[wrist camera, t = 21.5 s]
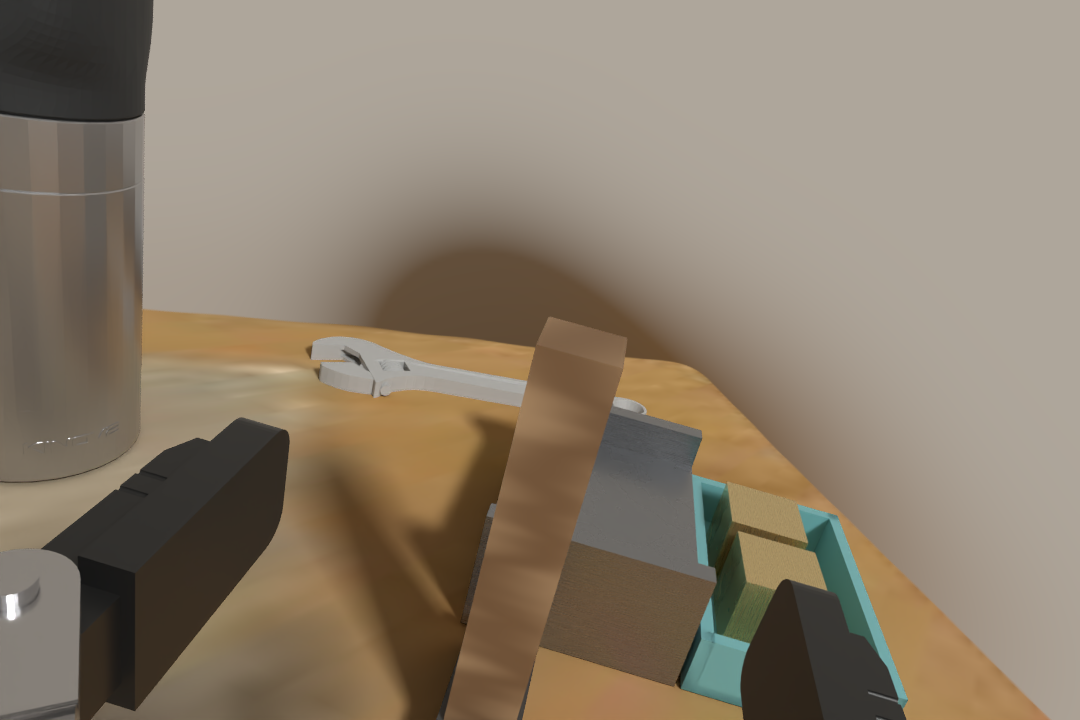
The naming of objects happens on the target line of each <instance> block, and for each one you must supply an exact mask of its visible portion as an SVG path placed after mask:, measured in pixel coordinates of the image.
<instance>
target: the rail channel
mask: <svg viewBox="0 0 1080 720" xmlns="http://www.w3.org/2000/svg"><path fill="white" fill-rule="evenodd" d="M701 440H702V432H701V430H698V429H694V428H691V427H687V426H683V425H680V424H676V423H673V422H669V421H666V420H662V419H658V418H655V417H651V416H648V415H644V414H641V413H637V412H633V411H630V410H626V409H623V408H619V407H616V406H612V407H611V410H610V414H609V417H608V420H607V424H606V427H605V430H604V434H603V437H602V440H601V443H600V447H599V450H598V453H597V457H596V460H595V463H594V467H593V470H592V473H591V476H590V480H589V483H588V486H587V490H586V493H585V496H584V500H583V503H582V506H581V509H580V513H579V516H578V519H577V523H576V526H575V529H574V533H573V536H572V539H571V542H570V546H569V549H568V552H567V556H566V559H565V562H564V566H563V569H562V572H561V575H560V579H559V582H558V585H557V589H556V592H555V595H554V598H553V602H552V605H551V608H550V612H549V615H548V618H547V622H546V625H545V628H544V631H543V635H542V638H541V641H540V645H539V646H541V647H544V648H547V649H551V650H554V651H557V652H561V653H564V654H567V655H571V656H574V657H577V658H581V659H584V660H587V661H591V662H594V663H597V664H601V665H604V666H607V667H611V668H614V669H617V670H621V671H624V672H627V673H631V674H634V675H637V676H641V677H644V678H647V679H650V680H654V681H657V682H660V683H664V684H667V685H670V686H674V685H675V683H676V680H677V678H678V676H679V673H680V671H681V668H682V666H683V664H684V661H685V659H686V656H687V654H688V651H689V649H690V647H691V644H692V642H693V639H694V637H695V634H696V632H697V630H698V627H699V625H700V622H701V620H702V617H703V615H704V613H705V610H706V608H707V605H708V603H709V601H710V598H711V596H712V593H713V591H714V588H715V586H716V584H717V581H716V571H715V568H713V567H710V566H706V565H703V564H700V563H698V556H697V541H696V526H695V511H694V496H693V481H692V465H693V462H694V459H695V457H696V454H697V451H698V448H699V446H700V443H701ZM496 505H497V504H493V503H491V506H490V508H489V511H488V513H487V516H486V520H485V524H484V528H483V532H482V536H481V540H480V544H479V549H478V553H477V557H476V561H475V565H474V569H473V573H472V577H471V581H470V586H469V590H468V594H467V598H466V602H465V606H464V610H463V614H462V619H461V623H464V624H467V623H468V619H469V615H470V611H471V607H472V602H473V598H474V594H475V590H476V586H477V582H478V578H479V574H480V570H481V566H482V562H483V558H484V554H485V550H486V546H487V542H488V538H489V534H490V530H491V526H492V522H493V518H494V514H495V509H496Z"/></svg>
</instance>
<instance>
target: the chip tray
mask: <svg viewBox="0 0 1080 720" xmlns="http://www.w3.org/2000/svg"><path fill="white" fill-rule="evenodd" d="M692 481H693V496H694V511H695V526H696V541H697V556H698V563H700V564H703V565H706V566H708V556H707V544H706V534H707V531H708V529H709V526H710V523H711V521H712V518H713V516H714V513H715V511H716V508H717V506H718V503H719V501H720V498H721V495H722V493H723V490H724V488H725V485H726V484H724V483H720V482H717V481H713V480H709V479H706V478H702V477H699V476H695V475H692ZM797 505H798V504H797ZM798 509H799V512H800V516H801V519H802V523H803V526H804V530H805V533H806V537H807V540H808V545H807V547H806V550H807V551H811V552H814V553H816V556H817V560H818V563H819V566H820V569H821V572H822V575H823V578H824V581H825V584H826V588H827V591H830V592H833V593H835V594H836V595H837V596H838V598H839V601H840V604H841V607H842V610H843V613H844V616H845V620H846V623H847V626H848V629H849V632H850V633H854V634H857V635H860V636H864V637H865V638H866V639H867V641H868V642H869V643H870V645H871V646H872V647H873V649H874V650H875V651H876V653H877V654H878V655H879V657H880V658H881V659H882V661H883V662H884V663H885V665H886V666H887V667H888V670H889V673H890V675H891V678H892V681H893V684H894V687H895V689H896V692H897V695H898V698H899V699H898V704H900V705H901V706H902V709H903V708H904V706H905V704H906V703H907V701H908V699H907V696H906V693H905V691H904V688H903V686H902V683H901V680H900V678H899V675H898V673H897V670H896V667H895V665H894V662H893V660H892V657H891V654H890V652H889V649H888V647H887V644H886V641H885V639H884V636H883V634H882V631H881V628H880V626H879V623H878V621H877V618H876V615H875V613H874V610H873V608H872V605H871V602H870V600H869V597H868V595H867V592H866V589H865V587H864V584H863V581H862V579H861V576H860V574H859V571H858V568H857V566H856V563H855V561H854V558H853V555H852V553H851V550H850V548H849V545H848V542H847V540H846V537H845V535H844V532H843V529H842V527H841V524H840V522H839V519H838V516H836V515H833V514H829V513H826V512H822V511H819V510H815V509H812V508H808V507H805V506H801V505H798ZM749 645H750V644H749V643H746V642H743V641H739V640H736V639H733V638H729V637H726V636H722V635H719V634H717V626H716V616H715V607H714V597H713V593H712V596H711V598H710V601H709V603H708V605H707V608H706V610H705V613H704V615H703V617H702V620H701V622H700V625H699V627H698V630H697V632H696V634H695V637H694V639H693V642H692V644H691V647H690V649H689V651H688V654H687V656H686V659H685V661H684V664H683V666H682V668H681V671H680V679H681V689H683V690H687V691H690V692H693V693H697V694H700V695H703V696H707V697H710V698H713V699H717V700H720V701H723V702H727V703H730V704H733V705H737V706H740V707H742V702H741V692H740V681H741V672H742V666H743V662H744V658H745V655H746V652H747V650H748V647H749Z"/></svg>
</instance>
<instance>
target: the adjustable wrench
mask: <svg viewBox="0 0 1080 720" xmlns="http://www.w3.org/2000/svg"><path fill="white" fill-rule="evenodd" d="M311 360H344V361H346V362H321V364H320V372H319V380H320V381H321V382H323V383H325V384H327V385H330V386H332V387H335V388H338V389H342V390H346V391H350V392H356V393H363V394H372V396H373V398H375V397H379V396H381V395H384V396H386V395H389V394H390V393H391V392H395V391H402V390H425V391H433V392H438V393H444V394H450V395H455V396H461V397H467V398H472V399H478V400H484V401H489V402H495V403H501V404H506V405H512V406H518V407H521V404H522V400H523V396H524V392H525V388H526V384H527V381H523V380H518V379H512V378H506V377H501V376H495V375H489V374H484V373H478V372H473V371H467V370H461V369H456V368H450V367H444V366H439V365H434V364H429V363H425V362H422V361H418V360H415V359H412V358H410V357H407V356H404V355H401V354H399V353H396V352H393V351H391V350H389V349H386V348H384V347H382V346H379V345H377V344H374V343H372V342H369V341H366V340H362V339H357V338H351V337H329V338H322V339H319V340H316V341H314V342H313V345H312V353H311ZM612 406H616V407H619V408H623V409H626V410H630V411H633V412H637V413H641V414H644V415H646V409H645V407H644V406H642V405H641V404H639V403H638V402H635V401H633V400H629V399H625V398H619V397H614V401H613V404H612Z"/></svg>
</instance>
